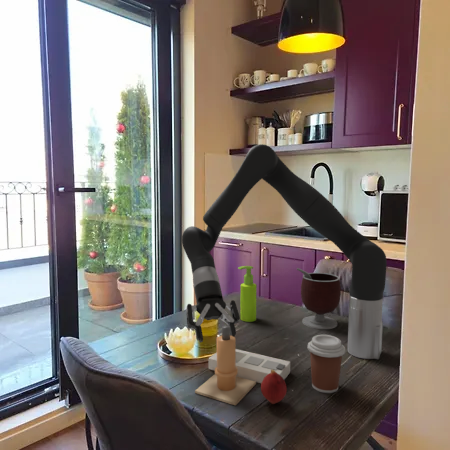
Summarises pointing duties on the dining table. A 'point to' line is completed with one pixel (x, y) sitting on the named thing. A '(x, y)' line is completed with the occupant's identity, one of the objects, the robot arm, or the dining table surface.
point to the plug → (226, 360)
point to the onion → (273, 387)
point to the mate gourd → (320, 298)
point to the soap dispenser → (248, 296)
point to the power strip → (255, 365)
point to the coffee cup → (325, 362)
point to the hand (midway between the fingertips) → (217, 339)
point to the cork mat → (229, 396)
